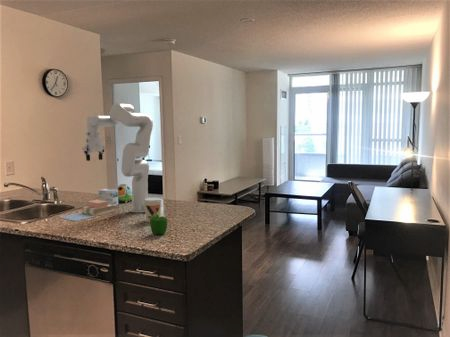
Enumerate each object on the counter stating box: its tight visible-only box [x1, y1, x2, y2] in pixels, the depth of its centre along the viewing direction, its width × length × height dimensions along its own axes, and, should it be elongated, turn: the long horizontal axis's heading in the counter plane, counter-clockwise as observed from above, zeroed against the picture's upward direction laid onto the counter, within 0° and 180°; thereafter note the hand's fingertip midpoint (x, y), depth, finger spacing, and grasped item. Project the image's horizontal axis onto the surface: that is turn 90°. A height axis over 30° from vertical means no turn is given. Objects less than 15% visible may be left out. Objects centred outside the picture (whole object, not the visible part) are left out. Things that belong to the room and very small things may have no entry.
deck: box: [81, 204, 115, 217], centre depth 235 cm, size 12×14×4 cm
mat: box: [58, 212, 96, 222], centre depth 223 cm, size 16×13×1 cm
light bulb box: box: [98, 188, 119, 207], centre depth 257 cm, size 11×7×11 cm, turn 76°
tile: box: [87, 199, 108, 208], centre depth 234 cm, size 10×7×3 cm
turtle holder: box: [115, 183, 132, 204], centre depth 273 cm, size 12×18×12 cm
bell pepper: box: [149, 214, 168, 236], centre depth 187 cm, size 8×8×10 cm
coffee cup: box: [144, 197, 162, 223], centre depth 214 cm, size 9×9×12 cm
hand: (94, 160), depth 260 cm, fingers open, 9 cm apart
